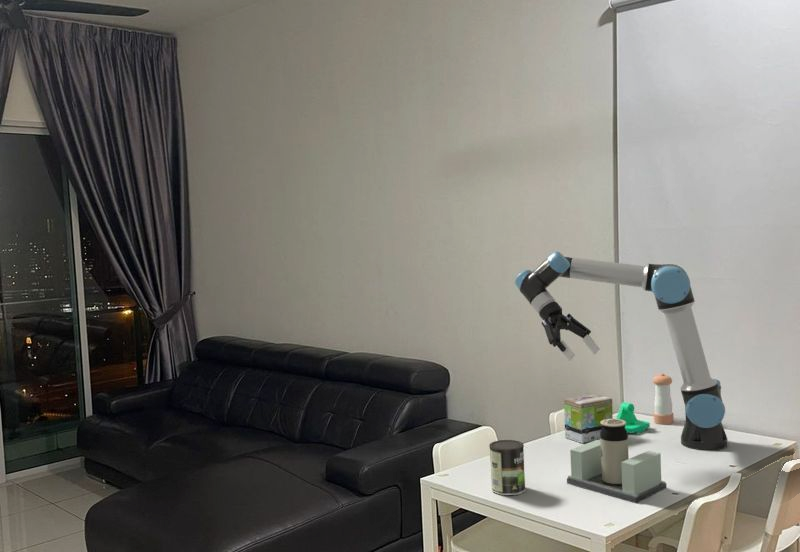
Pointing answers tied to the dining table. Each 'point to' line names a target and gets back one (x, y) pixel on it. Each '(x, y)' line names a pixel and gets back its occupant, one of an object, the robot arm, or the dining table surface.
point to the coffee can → (507, 467)
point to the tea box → (586, 416)
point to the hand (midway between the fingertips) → (584, 354)
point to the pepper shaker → (663, 400)
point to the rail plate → (613, 488)
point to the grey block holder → (635, 470)
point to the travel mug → (613, 449)
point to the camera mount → (631, 419)
